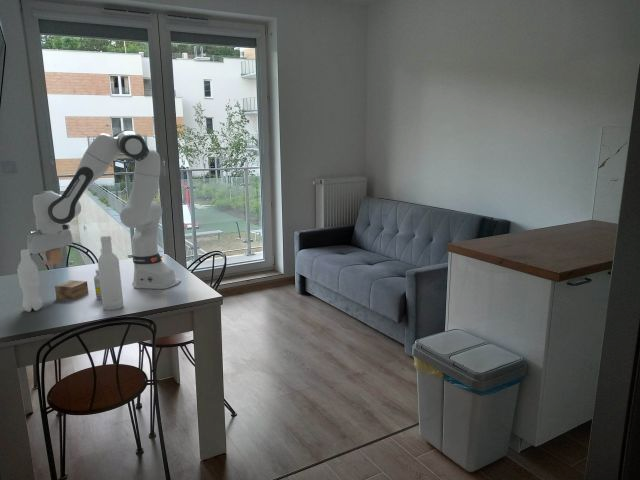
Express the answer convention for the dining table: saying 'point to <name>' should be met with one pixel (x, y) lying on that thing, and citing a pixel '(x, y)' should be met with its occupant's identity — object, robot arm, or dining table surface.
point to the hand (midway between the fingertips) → (52, 259)
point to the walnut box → (71, 290)
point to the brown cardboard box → (53, 256)
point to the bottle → (109, 276)
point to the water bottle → (29, 282)
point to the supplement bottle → (97, 285)
